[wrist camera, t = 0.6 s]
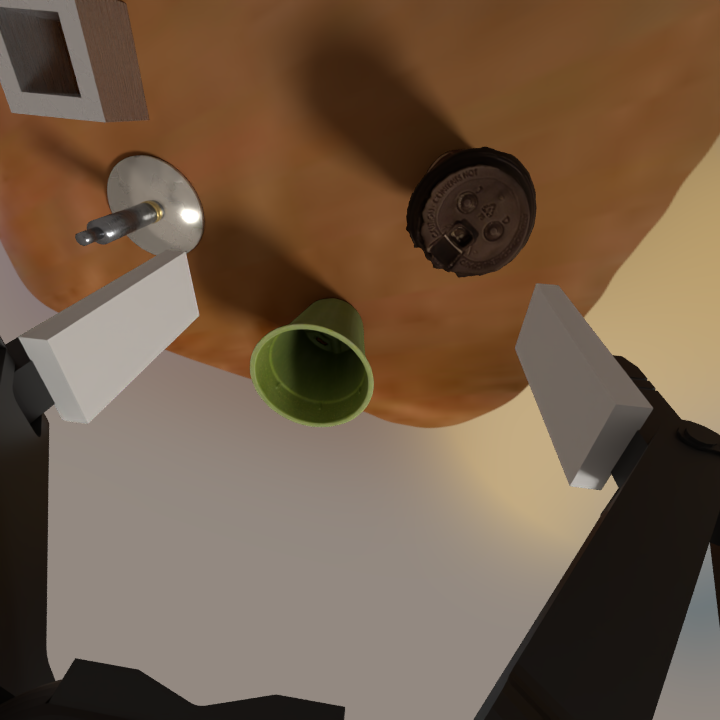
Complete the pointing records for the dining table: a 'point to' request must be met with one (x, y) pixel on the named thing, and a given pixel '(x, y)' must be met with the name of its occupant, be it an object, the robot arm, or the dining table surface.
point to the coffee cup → (472, 211)
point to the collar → (88, 55)
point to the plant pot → (315, 366)
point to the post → (149, 208)
